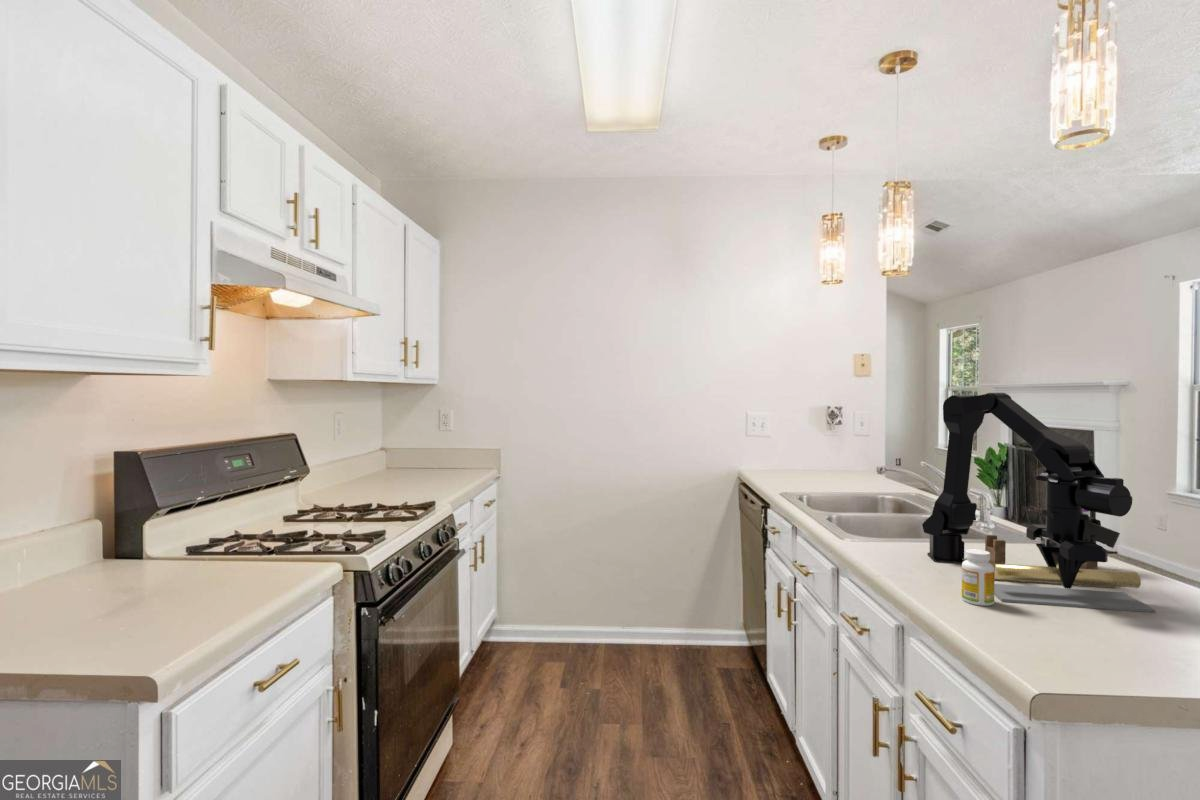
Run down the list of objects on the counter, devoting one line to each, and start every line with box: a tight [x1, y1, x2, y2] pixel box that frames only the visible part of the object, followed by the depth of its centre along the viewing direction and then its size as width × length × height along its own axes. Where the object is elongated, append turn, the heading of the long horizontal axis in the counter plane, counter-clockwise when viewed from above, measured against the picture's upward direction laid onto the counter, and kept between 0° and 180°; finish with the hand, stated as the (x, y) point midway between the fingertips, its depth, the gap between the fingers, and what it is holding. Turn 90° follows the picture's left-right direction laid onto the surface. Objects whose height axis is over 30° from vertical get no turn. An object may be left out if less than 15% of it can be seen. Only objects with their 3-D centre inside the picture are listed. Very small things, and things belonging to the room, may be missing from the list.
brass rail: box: [993, 563, 1142, 589], centre depth 120 cm, size 24×3×3 cm, turn 76°
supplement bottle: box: [961, 548, 995, 607], centre depth 118 cm, size 5×5×10 cm
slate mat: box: [994, 583, 1157, 613], centre depth 120 cm, size 25×10×1 cm, turn 76°
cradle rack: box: [984, 534, 1113, 588], centre depth 132 cm, size 25×7×8 cm, turn 76°
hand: (1063, 585), depth 120 cm, fingers closed on brass rail, 3 cm apart
